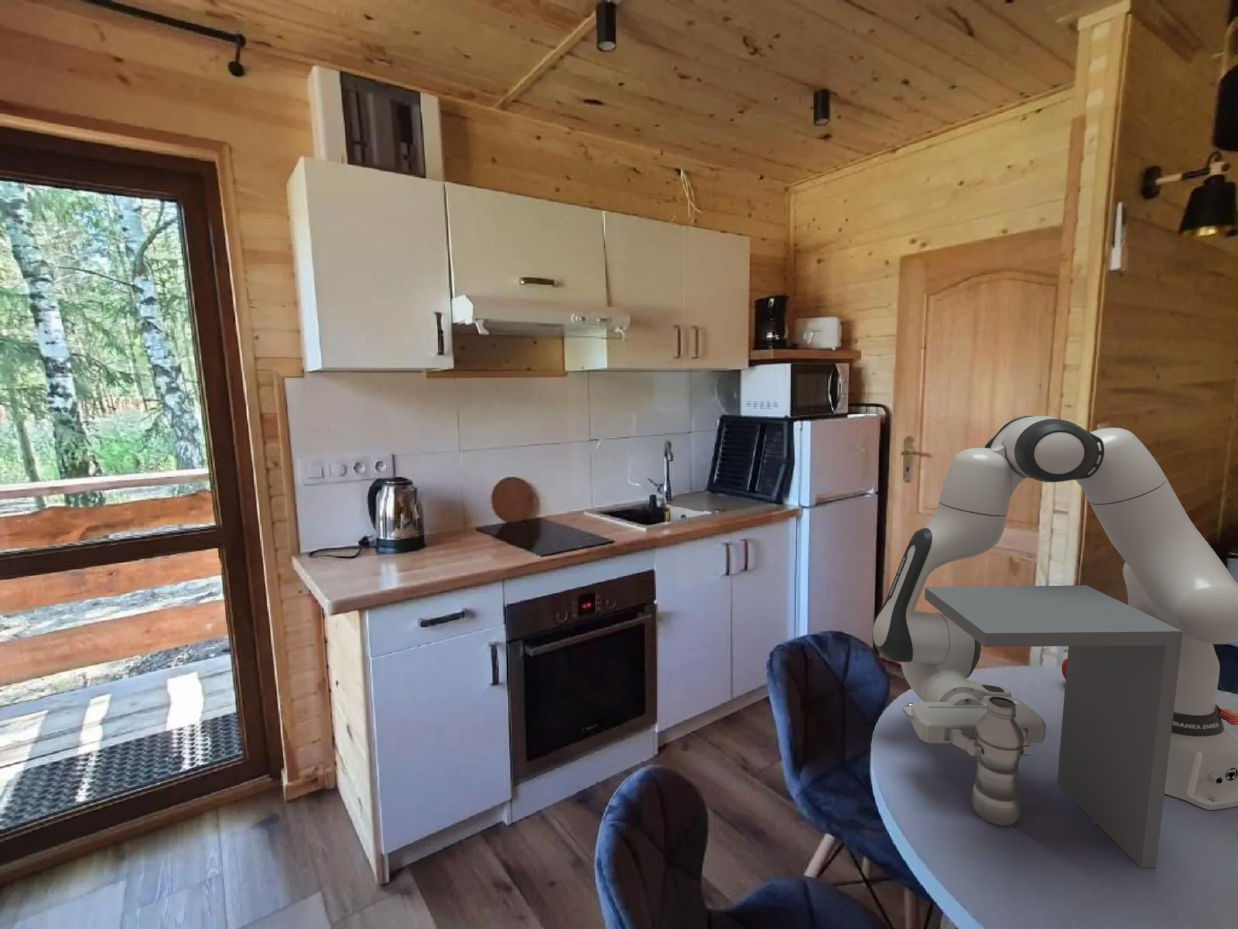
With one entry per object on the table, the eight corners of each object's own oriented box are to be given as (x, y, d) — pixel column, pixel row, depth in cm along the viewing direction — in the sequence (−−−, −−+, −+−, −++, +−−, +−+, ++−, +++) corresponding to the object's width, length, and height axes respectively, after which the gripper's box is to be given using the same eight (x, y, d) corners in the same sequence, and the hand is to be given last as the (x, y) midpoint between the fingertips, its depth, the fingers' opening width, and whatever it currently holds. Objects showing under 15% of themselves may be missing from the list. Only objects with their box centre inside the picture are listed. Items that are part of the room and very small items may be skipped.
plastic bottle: (1024, 836, 93) (1034, 716, 90) (974, 826, 95) (982, 709, 92) (1012, 807, 99) (1021, 694, 96) (966, 799, 101) (973, 689, 99)
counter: (1068, 784, 104) (1086, 585, 99) (1155, 868, 87) (1182, 631, 81) (915, 783, 106) (925, 587, 100) (970, 866, 88) (985, 633, 83)
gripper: (899, 688, 108) (935, 733, 95) (1016, 687, 107) (1070, 733, 94) (897, 720, 109) (933, 770, 96) (1013, 720, 108) (1066, 770, 95)
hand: (1002, 752), depth 95 cm, fingers open, 6 cm apart
